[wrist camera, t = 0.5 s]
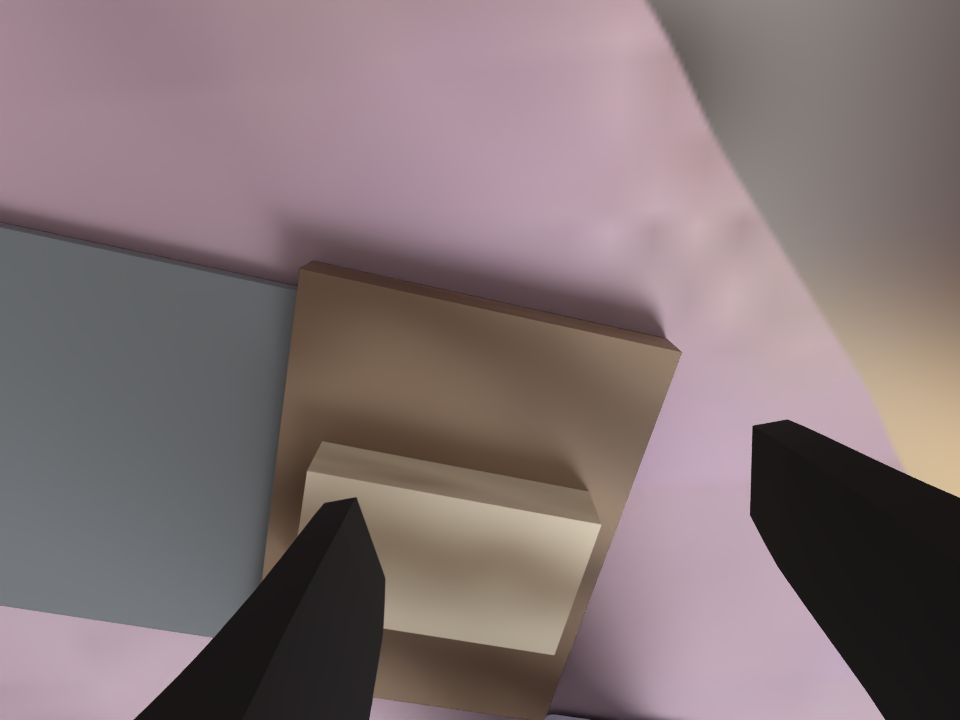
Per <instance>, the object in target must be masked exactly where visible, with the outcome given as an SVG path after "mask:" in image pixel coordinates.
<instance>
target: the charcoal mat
mask: <svg viewBox="0 0 960 720" xmlns="http://www.w3.org/2000/svg"><path fill="white" fill-rule="evenodd" d="M297 288H298V286H294V285H289V284H285V283H280V282H276V281H271V280H266V279H262V278H257V277H252V276H248V275H243V274H238V273H234V272H229V271H224V270H220V269H215V268H210V267H206V266H201V265H197V264H192V263H187V262H183V261H178V260H173V259H169V258H164V257H159V256H155V255H150V254H145V253H141V252H136V251H132V250H127V249H122V248H118V247H113V246H108V245H104V244H99V243H94V242H90V241H85V240H80V239H76V238H71V237H66V236H62V235H57V234H53V233H48V232H43V231H39V230H34V229H29V228H25V227H20V226H15V225H11V224H6V223H1V222H0V606H7V607H13V608H20V609H27V610H33V611H40V612H47V613H53V614H60V615H66V616H73V617H80V618H86V619H93V620H100V621H106V622H113V623H119V624H126V625H133V626H139V627H146V628H153V629H159V630H166V631H173V632H179V633H186V634H192V635H199V636H206V637H212V638H214V637H215V636H216V634H217V633H218V632H219V631H220V630H221V629H222V628H223V626H224V625H225V624H226V623H227V622H228V621H229V620H230V618H231V617H232V616H233V615H234V614H235V613H236V612H237V610H238V609H239V608H240V607H241V606H242V605H243V603H244V602H245V601H246V600H247V599H248V598H249V597H250V595H251V594H252V593H253V592H254V591H255V589H256V588H257V587H258V586H259V584H260V583H261V582H262V575H263V567H264V559H265V551H266V542H267V534H268V526H269V518H270V509H271V501H272V493H273V485H274V477H275V468H276V460H277V452H278V444H279V436H280V427H281V419H282V411H283V403H284V394H285V386H286V378H287V370H288V362H289V353H290V345H291V337H292V329H293V321H294V312H295V304H296V296H297Z"/></svg>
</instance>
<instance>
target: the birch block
mask: <svg viewBox="0 0 960 720" xmlns="http://www.w3.org/2000/svg"><path fill="white" fill-rule="evenodd" d="M354 497H357V500H358V503H359V505H360V508H361V511H362V514H363V517H364V519H365V522H366V525H367V528H368V531H369V533H370V536H371V539H372V542H373V545H374V547H375V550H376V553H377V556H378V559H379V561H380V564H381V567H382V570H383V573H384V575H385V578H386V580H385V609H384V627H383V628H384V629H390V630H396V631H403V632H409V633H416V634H422V635H428V636H435V637H441V638H447V639H454V640H460V641H467V642H473V643H479V644H486V645H492V646H498V647H505V648H511V649H517V650H524V651H530V652H537V653H543V654H549V655H555V652H556V649H557V646H558V644H559V641H560V638H561V635H562V633H563V630H564V627H565V624H566V622H567V619H568V616H569V613H570V611H571V608H572V605H573V602H574V600H575V597H576V594H577V591H578V588H579V586H580V583H581V580H582V577H583V575H584V572H585V569H586V566H587V564H588V561H589V558H590V555H591V553H592V550H593V547H594V544H595V542H596V539H597V536H598V533H599V531H600V528H601V522H600V519H599V516H598V514H597V511H596V508H595V506H594V503H593V500H592V497H591V495H590V492H589V491H583V490H578V489H573V488H567V487H562V486H557V485H552V484H546V483H541V482H536V481H530V480H525V479H520V478H514V477H509V476H504V475H499V474H493V473H488V472H483V471H477V470H472V469H467V468H461V467H456V466H451V465H446V464H440V463H435V462H430V461H424V460H419V459H414V458H408V457H403V456H398V455H392V454H387V453H382V452H377V451H371V450H366V449H361V448H355V447H350V446H345V445H339V444H334V443H329V442H324V441H322V443H321V445H320V447H319V448H318V450H317V452H316V454H315V456H314V458H313V460H312V462H311V464H310V466H309V468H308V470H307V475H306V482H305V489H304V496H303V503H302V510H301V517H300V524H299V531H298V535H299V534H300V533H301V531H302V530H303V529H304V527H305V526H306V525H307V524H308V522H309V521H310V520H311V518H312V517H313V516H314V515H315V513H316V512H317V511H318V510H319V509H320V507H321V506H322V505H323V504H324V503H326V502H332V501H337V500H343V499H348V498H354Z"/></svg>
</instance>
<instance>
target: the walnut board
mask: <svg viewBox="0 0 960 720" xmlns="http://www.w3.org/2000/svg"><path fill="white" fill-rule="evenodd" d="M681 354H682V352H681V351H680V350H679V349H678V348H677V347H675V346H674V345H673V344H672V343H671V342H670V341H669V340H668V339H665V338H661V337H656V336H651V335H647V334H642V333H638V332H633V331H629V330H624V329H620V328H615V327H611V326H606V325H602V324H597V323H592V322H588V321H583V320H579V319H574V318H570V317H565V316H561V315H556V314H552V313H547V312H543V311H538V310H533V309H529V308H524V307H520V306H515V305H511V304H506V303H502V302H497V301H493V300H488V299H484V298H479V297H474V296H470V295H465V294H461V293H456V292H452V291H447V290H443V289H438V288H434V287H429V286H424V285H420V284H415V283H411V282H406V281H402V280H397V279H393V278H388V277H384V276H379V275H375V274H370V273H365V272H361V271H356V270H352V269H347V268H343V267H338V266H334V265H329V264H325V263H320V262H316V261H311V262H309V263H308V264H306V265H305V266H303V267H302V268H300V271H299V279H298V288H297V296H296V304H295V312H294V321H293V329H292V337H291V345H290V353H289V362H288V370H287V378H286V386H285V394H284V403H283V411H282V419H281V427H280V436H279V444H278V452H277V460H276V468H275V477H274V485H273V493H272V501H271V509H270V518H269V526H268V534H267V542H266V551H265V559H264V567H263V575H262V581H263V579H264V578H265V577H266V576H267V574H268V573H269V572H270V571H271V569H272V568H273V567H274V566H275V564H276V563H277V562H278V561H279V559H280V558H281V557H282V556H283V554H284V553H285V552H286V551H287V549H288V548H289V547H290V545H291V544H292V543H293V542H294V540H295V539H296V538H297V536H298V531H299V524H300V517H301V510H302V503H303V496H304V489H305V482H306V475H307V470H308V468H309V466H310V464H311V462H312V460H313V458H314V456H315V454H316V452H317V450H318V448H319V447H320V445H321V443H322V441H324V442H329V443H334V444H339V445H345V446H350V447H355V448H361V449H366V450H371V451H377V452H382V453H387V454H392V455H398V456H403V457H408V458H414V459H419V460H424V461H430V462H435V463H440V464H446V465H451V466H456V467H461V468H467V469H472V470H477V471H483V472H488V473H493V474H499V475H504V476H509V477H514V478H520V479H525V480H530V481H536V482H541V483H546V484H552V485H557V486H562V487H567V488H573V489H578V490H583V491H589V492H590V495H591V497H592V500H593V503H594V506H595V508H596V511H597V514H598V516H599V519H600V522H601V528H600V531H599V533H598V536H597V539H596V542H595V544H594V547H593V550H592V553H591V555H590V558H589V561H588V564H587V566H586V569H585V572H584V575H583V577H582V580H581V583H580V586H579V588H578V591H577V594H576V597H575V600H574V602H573V605H572V608H571V611H570V613H569V616H568V619H567V622H566V624H565V627H564V630H563V633H562V635H561V638H560V641H559V644H558V646H557V649H556V652H555V655H549V654H543V653H537V652H530V651H524V650H517V649H511V648H505V647H498V646H492V645H486V644H479V643H473V642H467V641H460V640H454V639H447V638H441V637H435V636H428V635H422V634H416V633H409V632H403V631H396V630H390V629H384V628H383V638H382V644H381V651H380V657H379V663H378V669H377V675H376V681H375V687H374V693H373V697H374V698H381V699H388V700H394V701H401V702H408V703H415V704H422V705H429V706H436V707H443V708H450V709H457V710H464V711H471V712H478V713H485V714H491V715H498V716H505V717H512V718H519V719H526V720H545V717H546V715H547V712H548V709H549V707H550V704H551V701H552V699H553V696H554V693H555V691H556V688H557V685H558V683H559V680H560V677H561V675H562V672H563V669H564V667H565V664H566V661H567V659H568V656H569V653H570V651H571V648H572V645H573V643H574V640H575V637H576V635H577V632H578V629H579V627H580V624H581V621H582V618H583V616H584V613H585V610H586V608H587V605H588V602H589V600H590V597H591V594H592V592H593V589H594V586H595V584H596V581H597V578H598V576H599V573H600V570H601V568H602V565H603V562H604V560H605V557H606V554H607V552H608V549H609V546H610V544H611V541H612V538H613V536H614V533H615V530H616V528H617V525H618V522H619V519H620V517H621V514H622V511H623V509H624V506H625V503H626V501H627V498H628V495H629V493H630V490H631V487H632V485H633V482H634V479H635V477H636V474H637V471H638V469H639V466H640V463H641V461H642V458H643V455H644V453H645V450H646V447H647V445H648V442H649V439H650V437H651V434H652V431H653V429H654V426H655V423H656V421H657V418H658V415H659V412H660V410H661V407H662V404H663V402H664V399H665V396H666V394H667V391H668V388H669V386H670V383H671V380H672V378H673V375H674V372H675V370H676V367H677V364H678V362H679V359H680V356H681Z"/></svg>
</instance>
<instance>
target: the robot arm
mask: <svg viewBox="0 0 960 720" xmlns="http://www.w3.org/2000/svg"><path fill="white" fill-rule="evenodd" d="M750 516H751V518H752V520H753V522H754V524H755V525H756V527H757V529H758V531H759V533H760V535H761V537H762V539H763V541H764V543H765V545H766V546H767V548H768V550H769V552H770V554H771V555H772V557H773V559H774V561H775V562H776V564H777V566H778V568H779V569H780V570H781V572H782V573H783V575H784V576H785V578H786V579H787V581H788V582H789V583H790V585H791V586H792V588H793V589H794V591H795V592H796V593H797V595H798V596H799V598H800V599H801V600H802V602H803V603H804V605H805V606H806V608H807V609H808V610H809V612H810V613H811V614H812V616H813V617H814V619H815V620H816V621H817V623H818V624H819V626H820V627H821V628H822V630H823V631H824V633H825V634H826V635H827V637H828V638H829V640H830V641H831V642H832V644H833V645H834V647H835V648H836V649H837V651H838V652H839V653H840V655H841V656H842V658H843V659H844V660H845V662H846V663H847V665H848V666H849V667H850V669H851V670H852V672H853V673H854V674H855V676H856V677H857V679H858V680H859V681H860V683H861V684H862V686H863V687H864V688H865V690H866V691H867V693H868V694H869V696H870V697H871V699H872V700H873V702H874V703H875V705H876V706H877V708H878V709H879V711H880V712H881V714H882V715H883V717H884V718H885V720H960V498H959V497H957V496H954V495H952V494H950V493H947V492H945V491H943V490H940V489H938V488H936V487H934V486H931V485H929V484H926V483H924V482H922V481H920V480H918V479H916V478H913V477H911V476H909V475H907V474H905V473H902V472H900V471H898V470H896V469H894V468H892V467H889V466H887V465H885V464H883V463H881V462H879V461H877V460H874V459H872V458H870V457H868V456H866V455H864V454H862V453H860V452H858V451H855V450H853V449H851V448H849V447H847V446H845V445H843V444H841V443H839V442H836V441H834V440H832V439H830V438H828V437H826V436H824V435H822V434H819V433H817V432H815V431H813V430H811V429H809V428H806V427H804V426H802V425H799V424H797V423H795V422H792V421H790V420H782V421H777V422H771V423H766V424H760V425H754V426H753V431H752V467H751V502H750ZM385 580H386V578H385V575H384V573H383V570H382V567H381V564H380V561H379V559H378V556H377V553H376V550H375V547H374V545H373V542H372V539H371V536H370V533H369V531H368V528H367V525H366V522H365V519H364V517H363V514H362V511H361V508H360V505H359V503H358V500H357V497H354V498H348V499H343V500H337V501H332V502H326V503H324V504H323V505H322V506H321V507H320V509H319V510H318V511H317V512H316V513H315V515H314V516H313V517H312V518H311V520H310V521H309V522H308V524H307V525H306V526H305V527H304V529H303V530H302V531H301V533H300V534H299V535H298V536H297V538H296V539H295V540H294V542H293V543H292V544H291V545H290V547H289V548H288V549H287V551H286V552H285V553H284V554H283V556H282V557H281V558H280V559H279V561H278V562H277V563H276V564H275V566H274V567H273V568H272V569H271V571H270V572H269V573H268V574H267V576H266V577H265V578H264V579H263V581H262V582H261V583H260V584H259V586H258V587H257V588H256V589H255V591H254V592H253V593H252V594H251V595H250V597H249V598H248V599H247V600H246V601H245V602H244V603H243V605H242V606H241V607H240V608H239V609H238V610H237V612H236V613H235V614H234V615H233V616H232V617H231V618H230V620H229V621H228V622H227V623H226V624H225V625H224V626H223V628H222V629H221V630H220V631H219V632H218V633H217V634H216V636H215V637H214V638H213V639H212V640H211V641H210V643H209V644H208V645H207V646H206V647H205V648H204V649H203V650H202V651H201V652H200V653H199V655H198V656H197V657H196V658H195V659H194V660H193V661H192V662H191V663H190V664H189V665H188V666H187V667H186V668H185V669H184V670H183V671H182V672H181V674H180V675H179V676H178V677H177V678H176V679H175V680H174V681H173V682H172V683H171V684H170V685H169V686H168V687H167V688H166V689H165V690H164V691H163V692H162V693H161V694H160V695H159V696H158V697H157V698H156V699H155V700H153V701H152V702H151V703H150V704H149V705H148V706H147V707H146V708H145V709H144V710H143V711H142V712H141V713H140V714H139V715H138V716H137V717H136V718H135V719H134V720H369V717H370V711H371V705H372V699H373V693H374V687H375V681H376V675H377V669H378V663H379V657H380V651H381V644H382V638H383V627H384V609H385ZM545 720H589V719H582V718H576V717H569V716H562V715H555V714H551V715H547V716H546V717H545Z"/></svg>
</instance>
